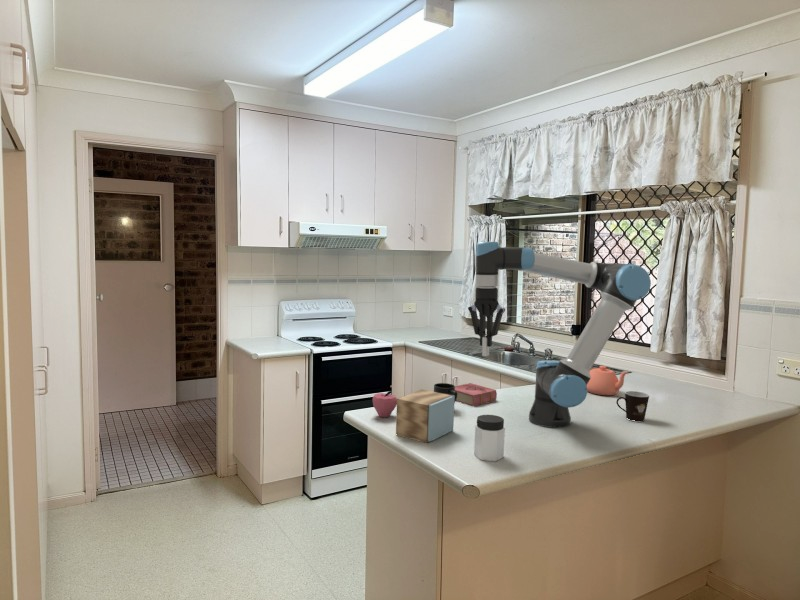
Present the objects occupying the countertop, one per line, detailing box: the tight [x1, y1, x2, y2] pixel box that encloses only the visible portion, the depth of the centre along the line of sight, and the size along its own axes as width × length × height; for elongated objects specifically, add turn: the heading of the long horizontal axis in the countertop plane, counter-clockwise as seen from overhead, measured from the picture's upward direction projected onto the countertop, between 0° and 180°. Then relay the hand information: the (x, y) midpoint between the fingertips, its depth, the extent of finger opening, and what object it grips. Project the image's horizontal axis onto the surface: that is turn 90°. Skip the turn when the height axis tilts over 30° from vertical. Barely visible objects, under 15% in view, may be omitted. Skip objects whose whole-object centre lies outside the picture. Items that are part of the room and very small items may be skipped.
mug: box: [433, 382, 457, 404], centre depth 219 cm, size 8×12×10 cm
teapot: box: [587, 365, 629, 396], centre depth 254 cm, size 22×15×12 cm
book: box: [454, 382, 498, 407], centre depth 236 cm, size 14×15×5 cm
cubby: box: [395, 389, 451, 444], centre depth 192 cm, size 12×16×12 cm
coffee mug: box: [616, 390, 650, 422], centre depth 216 cm, size 12×9×10 cm
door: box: [428, 395, 456, 442], centre depth 188 cm, size 1×16×12 cm, turn 145°
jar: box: [473, 414, 506, 462], centre depth 172 cm, size 9×8×12 cm
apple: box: [372, 390, 398, 418], centre depth 208 cm, size 10×9×10 cm
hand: (485, 355), depth 193 cm, fingers closed
